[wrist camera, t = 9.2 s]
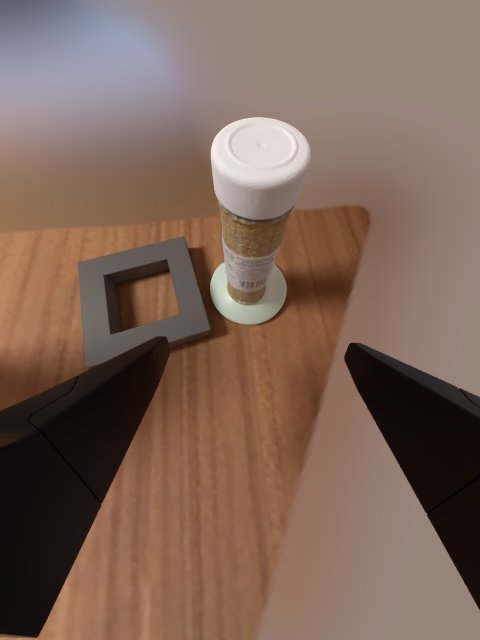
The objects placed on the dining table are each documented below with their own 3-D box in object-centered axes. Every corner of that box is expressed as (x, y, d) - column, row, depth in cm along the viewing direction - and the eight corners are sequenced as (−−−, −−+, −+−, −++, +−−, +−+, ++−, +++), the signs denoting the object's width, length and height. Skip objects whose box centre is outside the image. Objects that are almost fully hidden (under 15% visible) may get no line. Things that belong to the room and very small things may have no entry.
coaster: (297, 311, 20) (298, 310, 20) (222, 335, 19) (222, 334, 19) (269, 250, 23) (270, 246, 22) (202, 268, 22) (201, 265, 21)
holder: (213, 333, 19) (210, 329, 17) (101, 368, 18) (85, 368, 16) (188, 247, 23) (183, 236, 21) (92, 272, 21) (78, 262, 20)
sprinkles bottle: (266, 273, 21) (315, 116, 8) (263, 309, 20) (314, 187, 7) (229, 269, 21) (218, 106, 8) (223, 303, 20) (199, 173, 7)
